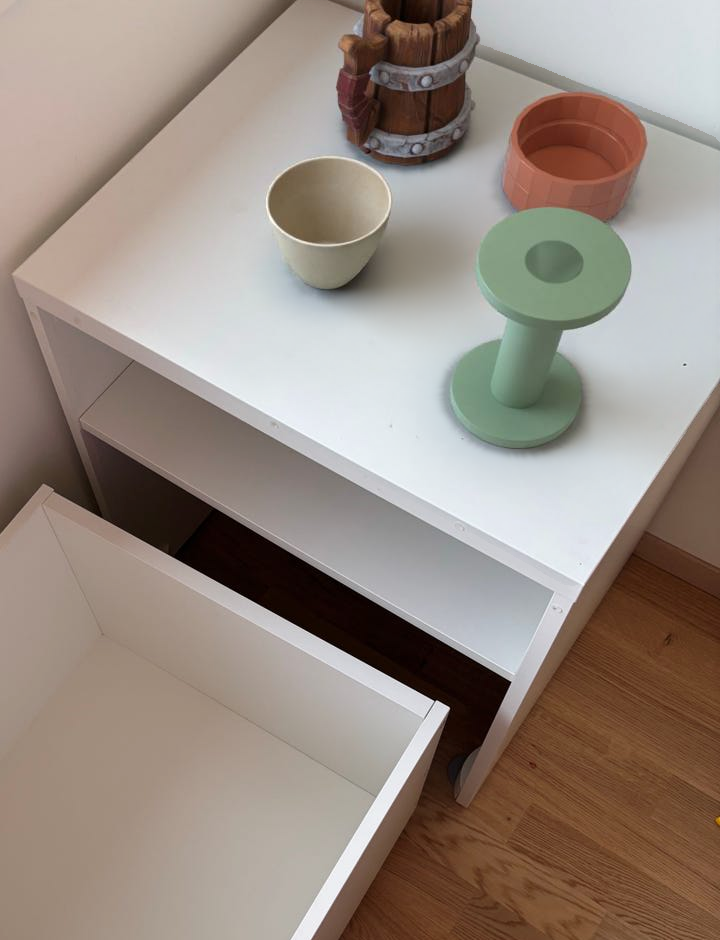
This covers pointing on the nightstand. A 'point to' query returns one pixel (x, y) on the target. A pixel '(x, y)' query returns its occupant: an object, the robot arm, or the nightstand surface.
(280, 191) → the flower pot
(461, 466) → the nightstand surface
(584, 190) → the bowl
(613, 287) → the stand
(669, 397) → the nightstand surface
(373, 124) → the mug
